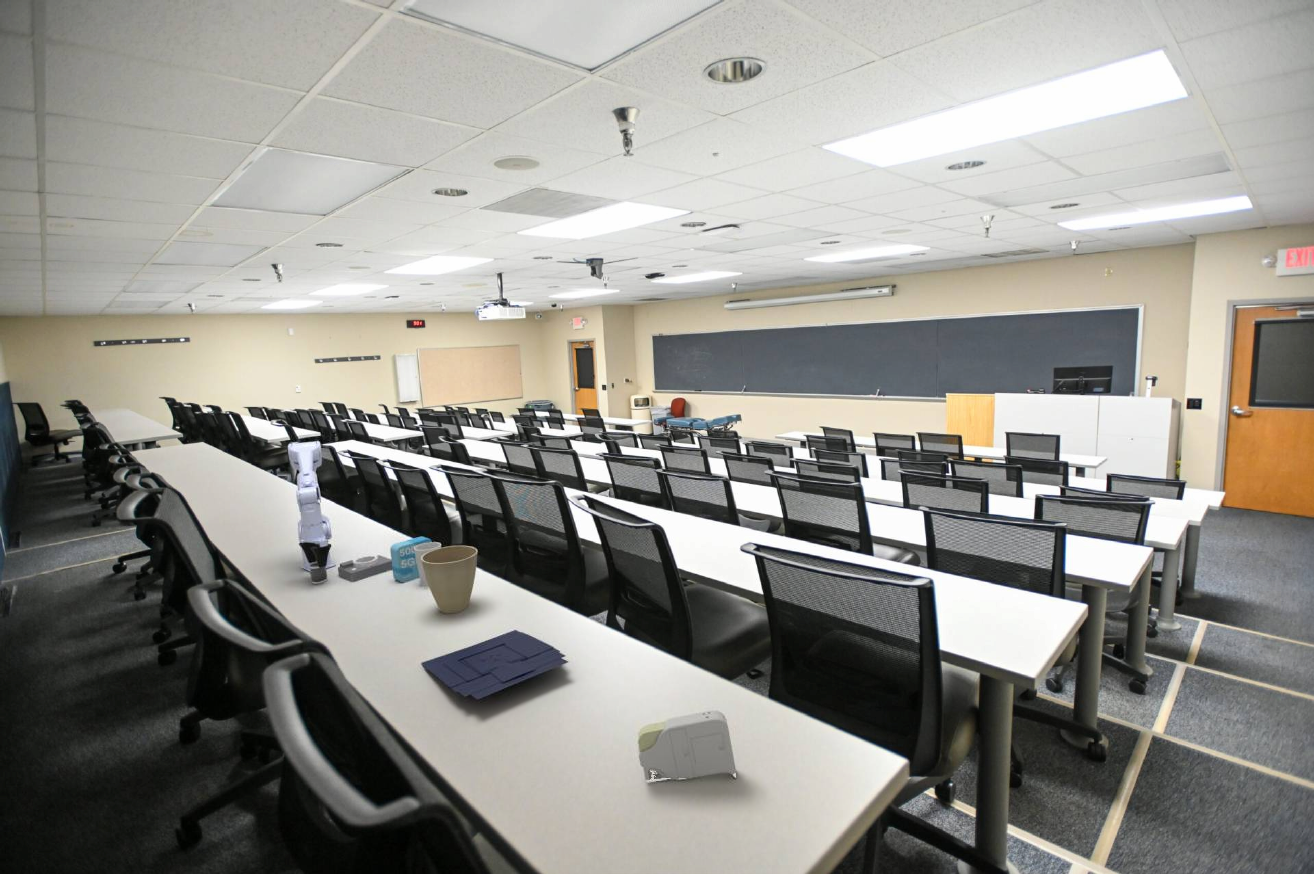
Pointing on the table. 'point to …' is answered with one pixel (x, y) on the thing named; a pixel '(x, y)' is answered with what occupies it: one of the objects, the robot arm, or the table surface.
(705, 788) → the table surface
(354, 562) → the camera body
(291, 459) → the robot arm
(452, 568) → the plant pot
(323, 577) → the lens
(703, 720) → the toy camper
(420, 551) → the cup
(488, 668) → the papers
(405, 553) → the data package
